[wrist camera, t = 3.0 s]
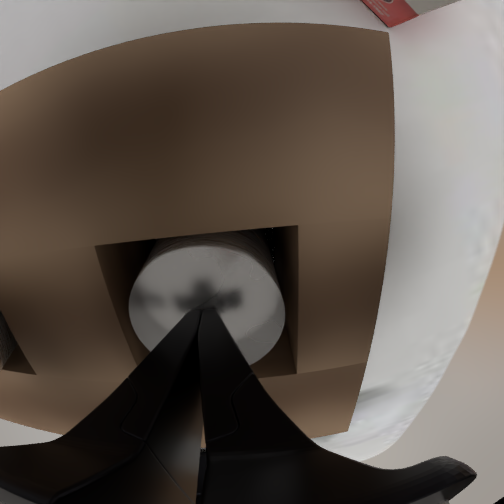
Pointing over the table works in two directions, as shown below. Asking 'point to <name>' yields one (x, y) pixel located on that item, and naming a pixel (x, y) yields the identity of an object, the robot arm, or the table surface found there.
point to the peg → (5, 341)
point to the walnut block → (196, 204)
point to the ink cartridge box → (403, 9)
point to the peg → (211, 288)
